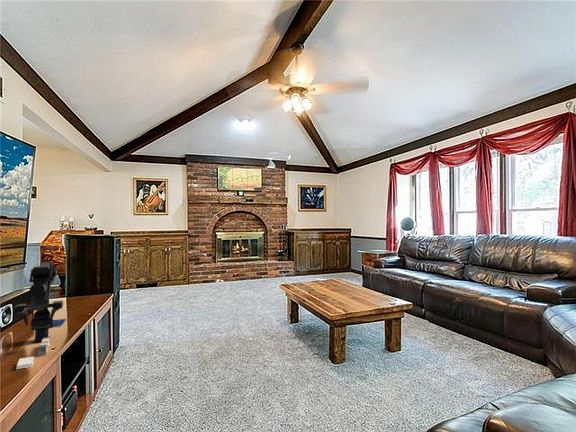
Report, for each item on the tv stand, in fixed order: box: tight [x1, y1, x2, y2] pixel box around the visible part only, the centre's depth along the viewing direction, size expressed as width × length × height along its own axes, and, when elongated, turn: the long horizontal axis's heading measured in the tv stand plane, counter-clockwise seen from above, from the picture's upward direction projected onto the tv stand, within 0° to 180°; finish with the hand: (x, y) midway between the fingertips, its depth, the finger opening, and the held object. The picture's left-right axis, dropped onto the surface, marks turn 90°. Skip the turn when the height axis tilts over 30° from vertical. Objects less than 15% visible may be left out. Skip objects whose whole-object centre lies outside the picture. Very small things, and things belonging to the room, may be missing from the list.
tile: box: [16, 356, 35, 370], centre depth 139 cm, size 2×5×8 cm
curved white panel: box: [37, 336, 51, 357], centre depth 155 cm, size 14×3×4 cm, turn 31°
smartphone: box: [53, 318, 67, 328], centre depth 196 cm, size 7×1×15 cm
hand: (38, 324), depth 158 cm, fingers open, 9 cm apart
